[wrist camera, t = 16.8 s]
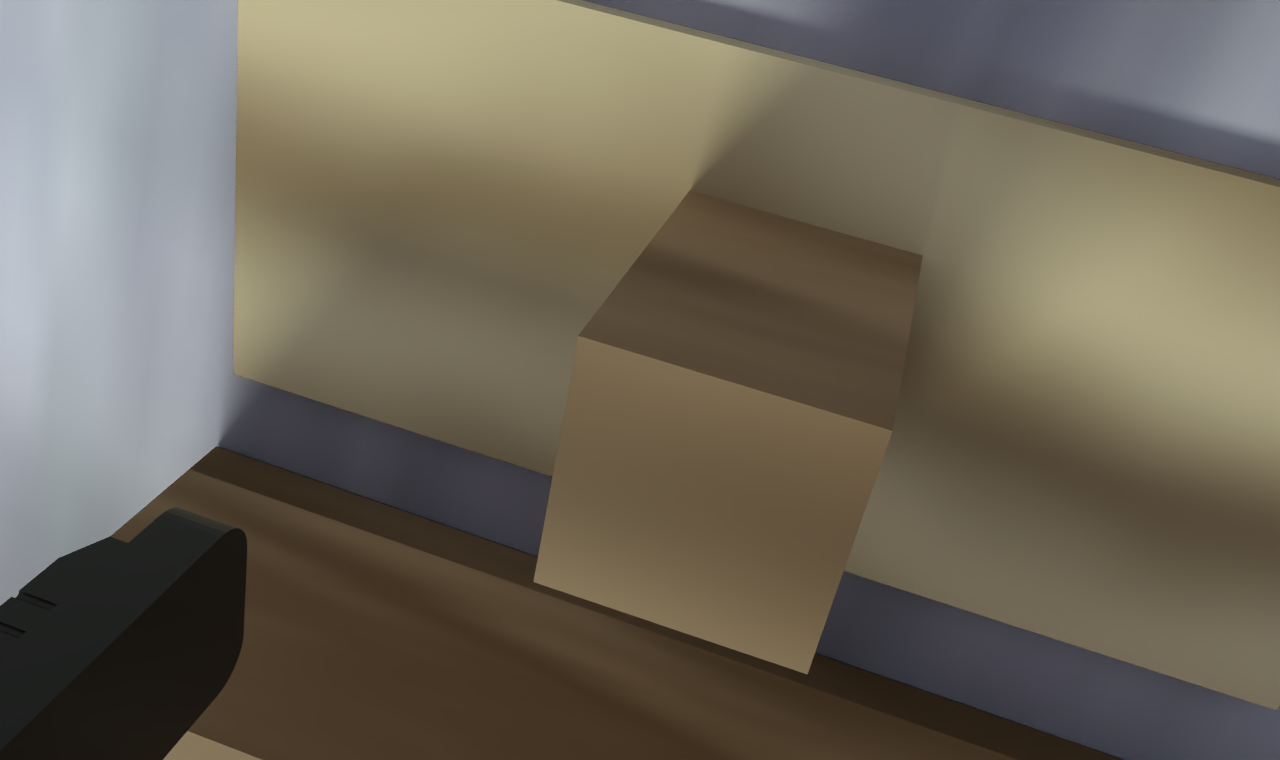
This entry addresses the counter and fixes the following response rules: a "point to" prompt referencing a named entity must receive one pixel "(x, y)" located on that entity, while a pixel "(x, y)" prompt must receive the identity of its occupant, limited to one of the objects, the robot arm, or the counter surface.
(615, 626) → the wooden box
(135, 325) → the counter surface
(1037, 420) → the lid
